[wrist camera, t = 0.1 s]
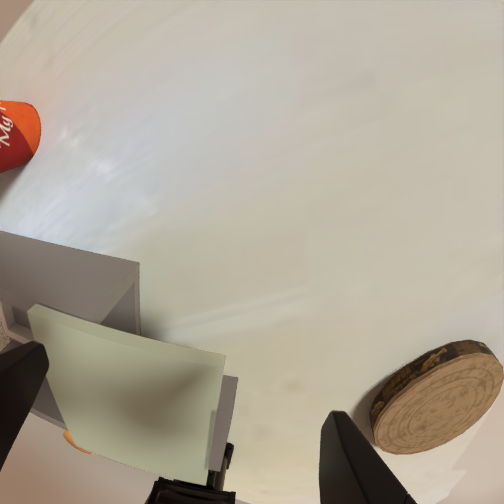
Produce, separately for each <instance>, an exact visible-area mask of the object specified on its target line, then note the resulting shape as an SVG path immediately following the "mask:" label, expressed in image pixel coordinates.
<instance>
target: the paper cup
mask: <svg viewBox="0 0 504 504" xmlns="http://www.w3.org/2000/svg"><path fill="white" fill-rule="evenodd" d="M40 136H41V123H40V118H39V115H38V113H37V111H36V109H35V108H34V107H33V106H32V105H30V104H28V103H23V102H15V101H2V100H0V173H2V172H5V171H8V170H10V169H13V168H15V167H18V166H20V165H23V164H25V163H26V162H28V161H29V160H30V159H31V158H32V157H33V156H34V154H35V152H36V150H37V148H38V145H39V142H40Z"/></svg>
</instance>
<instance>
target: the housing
mask: <svg viewBox="0 0 504 504" xmlns="http://www.w3.org/2000/svg"><path fill="white" fill-rule="evenodd" d="M35 304H39V305H41V306H44V307H47V308H50V309H53V310H55V311H58V312H61V313H64V314H67V315H70V316H73V317H76V318H79V319H83V320H86V321H89V322H92V323H95V324H99V325H102V326H105V327H109V328H112V329H116V330H119V331H123V332H127V333H130V334H134V335H138V336H141V328H140V293H139V262H134V261H129V260H125V259H120V258H115V257H111V256H106V255H101V254H97V253H92V252H88V251H83V250H79V249H74V248H70V247H66V246H61V245H57V244H53V243H49V242H44V241H40V240H36V239H32V238H28V237H23V236H19V235H15V234H11V233H7V232H3V231H0V320H1V324H2V327H3V330H4V333H5V335H7V336H9V337H10V340H11V342H10V343H9V344H8V345H7V346H6V347H5V348H4V349H3V350H2V351H1V352H0V354H1V353H4V352H6V351H9V350H11V349H13V348H16V347H18V346H20V345H23V344H25V343H27V342H30V341H33V340H34V337H33V333H32V330H31V326H30V322H29V318H28V314H27V311H28V310H29V309H30V308H32V307H33V306H34V305H35ZM34 341H35V340H34ZM30 412H31V413H33V414H35V415H37V416H38V417H40V418H42V419H45V420H46V421H48V422H50V423H53V424H54V425H57V426H59V427H61V428H63V429H65V430H67V431H69V430H68V428H67V426H66V424H65V422H64V420H63V417H62V415H61V413H60V410H59V408H58V406H57V403H56V401H55V398H54V396H53V393H52V391H51V388H50V386H49V383H48V380H47V377H46V376H45V378H44V381H43V383H42V385H41V388H40V390H39V392H38V395H37V397H36V400H35V402H34V404H33V406H32V408H31V410H30Z"/></svg>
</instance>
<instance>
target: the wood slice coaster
mask: <svg viewBox="0 0 504 504" xmlns="http://www.w3.org/2000/svg"><path fill="white" fill-rule="evenodd" d="M503 379H504V374H503V366H502V365H501V363H500V362H499V361H498V359H497V358H496V357H495V355H494V354H493V353H492V351H491V350H490V349H489V348H488V347H487V346H486V345H485V344H484V343H482V342H478V341H473V340H463V341H457V342H450V343H448V344H445V345H443V346H441V347H438V348H436V349H433V350H431V351H428V352H427V353H425V354H423V355H422V356H420V357H419V358H417V359H415V360H414V361H412V362H411V363H409V364H407V365H406V366H405V367H404V368H403V369H401V370H400V371H399V372H398V373H397V374H396V375H395V376H393V377H392V378H391V379H390V380H389V381H388V382H387V383H386V384H385V386H384V387H383V388H382V390H381V391H380V392H379V394H378V395H377V396H376V398H375V399H374V402H373V405H372V408H371V410H370V413H369V414H370V421H371V427H372V431H373V435H374V439H375V443H376V445H377V446H379V447H380V448H381V449H382V450H383V451H385V452H388V453H392V454H395V455H399V454H414V453H419V452H423V451H427V450H430V449H433V448H435V447H438V446H440V445H442V444H445V443H447V442H449V441H450V440H452V439H454V438H455V437H457V436H459V435H460V434H462V433H463V432H465V431H466V430H467V429H469V428H470V427H471V426H472V425H473V424H475V423H476V422H477V421H478V420H479V419H480V418H481V417H482V416H483V415H484V414H485V413H486V411H487V410H488V409H489V408H490V407H491V405H492V404H493V402H494V401H495V399H496V397H497V396H498V394H499V392H500V389H501V386H502V383H503Z"/></svg>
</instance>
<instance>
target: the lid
mask: <svg viewBox="0 0 504 504" xmlns="http://www.w3.org/2000/svg"><path fill="white" fill-rule="evenodd" d="M27 314H28V318H29V322H30V326H31V330H32V333H33V337H34V340H35V341H37V342H40V343H42V344H43V345H44V346H45V349H46V352H47V356H48V359H49V364H50V365H49V369H48V372H47V374H46V377H47V380H48V383H49V386H50V388H51V391H52V393H53V396H54V398H55V401H56V403H57V406H58V408H59V410H60V413H61V415H62V417H63V420H64V422H65V424H66V426H67V428H68V430H69V433H70V435H71V437H72V439H73V441H74V443H75V445H76V446H78V447H80V448H83V449H85V450H87V451H90V452H92V453H95V454H97V455H100V456H103V457H105V458H108V459H111V460H113V461H116V462H119V463H122V464H125V465H128V466H131V467H134V468H137V469H140V470H144V471H147V472H151V473H154V474H158V475H162V476H165V477H169V478H173V479H177V480H181V481H186V482H190V483H195V484H200V485H205V486H206V482H207V476H208V470H214V471H219V472H220V469H221V465H222V460H223V456H224V451H225V447H226V442H227V438H228V433H229V428H230V424H231V419H232V415H233V409H234V402H235V395H236V389H237V382H238V378H237V377H231V376H226V375H223V372H224V365H225V359H226V355H222V354H217V353H212V352H207V351H202V350H197V349H192V348H188V347H183V346H179V345H174V344H170V343H166V342H161V341H157V340H153V339H149V338H145V337H142V336H138V335H134V334H130V333H127V332H123V331H119V330H116V329H112V328H109V327H105V326H102V325H99V324H95V323H92V322H89V321H86V320H83V319H79V318H76V317H73V316H70V315H67V314H64V313H61V312H58V311H55V310H53V309H50V308H47V307H44V306H41V305H39V304H35V305H34V306H33V307H32V308H30V309H29V310H28V311H27Z"/></svg>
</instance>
